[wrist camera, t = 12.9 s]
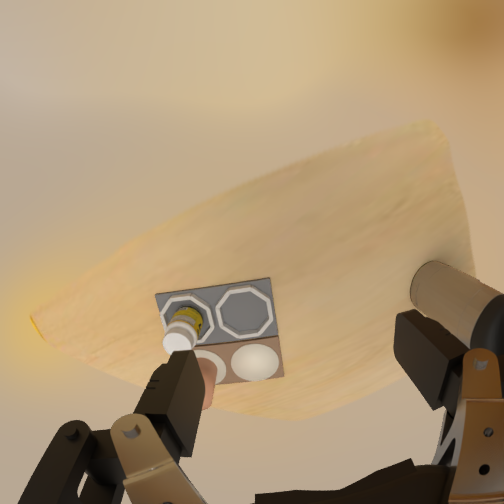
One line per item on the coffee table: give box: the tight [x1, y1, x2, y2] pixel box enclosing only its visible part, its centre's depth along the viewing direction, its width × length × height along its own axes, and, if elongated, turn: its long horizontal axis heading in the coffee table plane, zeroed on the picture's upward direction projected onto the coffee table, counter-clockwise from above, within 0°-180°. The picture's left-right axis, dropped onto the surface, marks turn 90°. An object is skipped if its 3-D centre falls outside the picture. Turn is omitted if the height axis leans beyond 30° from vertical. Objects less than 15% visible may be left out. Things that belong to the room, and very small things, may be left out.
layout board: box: [155, 278, 284, 410], centre depth 38 cm, size 18×19×9 cm
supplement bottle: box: [163, 305, 203, 355], centre depth 37 cm, size 5×5×8 cm
